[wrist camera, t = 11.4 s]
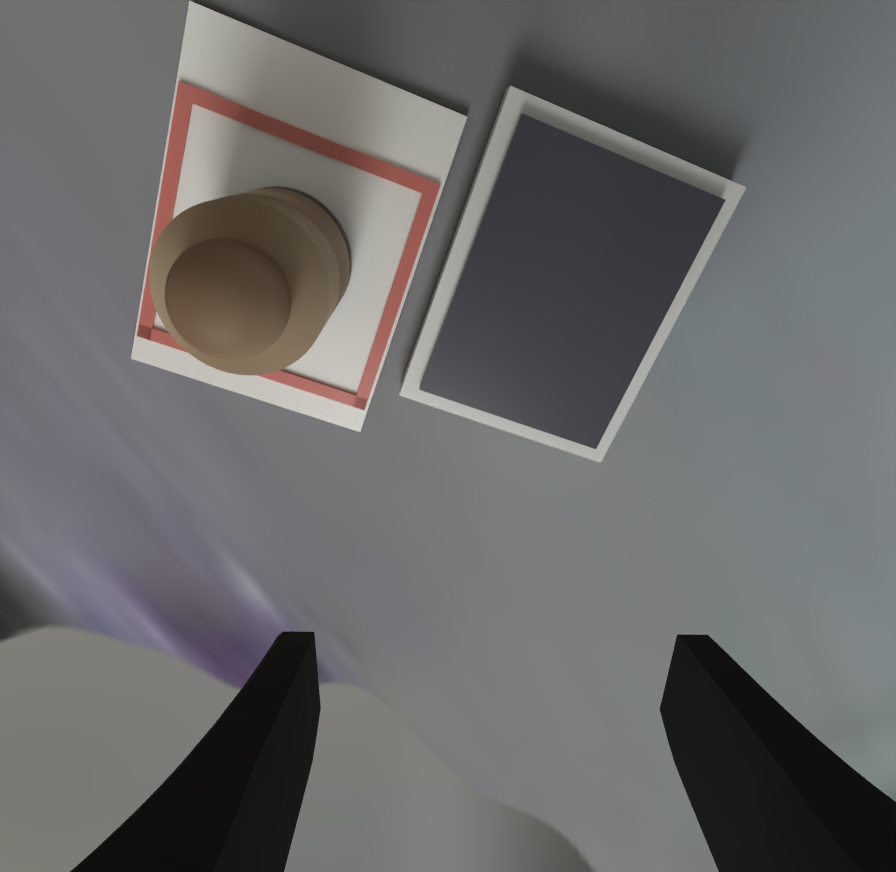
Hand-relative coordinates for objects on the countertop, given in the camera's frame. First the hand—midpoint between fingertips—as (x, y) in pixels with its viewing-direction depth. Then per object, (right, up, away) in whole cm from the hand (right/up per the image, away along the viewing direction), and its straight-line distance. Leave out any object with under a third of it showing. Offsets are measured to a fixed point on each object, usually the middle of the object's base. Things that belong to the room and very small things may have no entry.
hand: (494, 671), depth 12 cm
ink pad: (+2, +9, +7) cm, 12 cm away
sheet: (-6, +10, +6) cm, 13 cm away
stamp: (-6, +10, +6) cm, 13 cm away
